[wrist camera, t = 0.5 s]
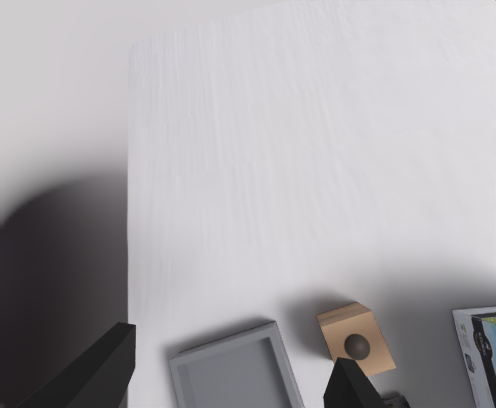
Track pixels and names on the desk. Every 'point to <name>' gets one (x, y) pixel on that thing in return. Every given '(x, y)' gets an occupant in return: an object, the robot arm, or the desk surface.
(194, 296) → the desk surface
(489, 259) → the desk surface
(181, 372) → the tray
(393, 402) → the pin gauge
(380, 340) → the block
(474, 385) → the tea box
